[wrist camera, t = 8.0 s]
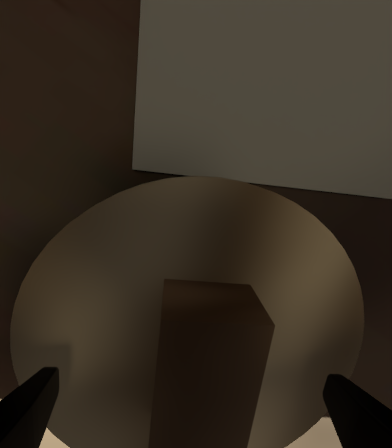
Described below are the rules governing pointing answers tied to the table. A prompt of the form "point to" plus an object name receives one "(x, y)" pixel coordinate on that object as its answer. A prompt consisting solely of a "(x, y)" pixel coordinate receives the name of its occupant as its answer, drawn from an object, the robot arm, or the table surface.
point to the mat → (267, 92)
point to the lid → (189, 318)
